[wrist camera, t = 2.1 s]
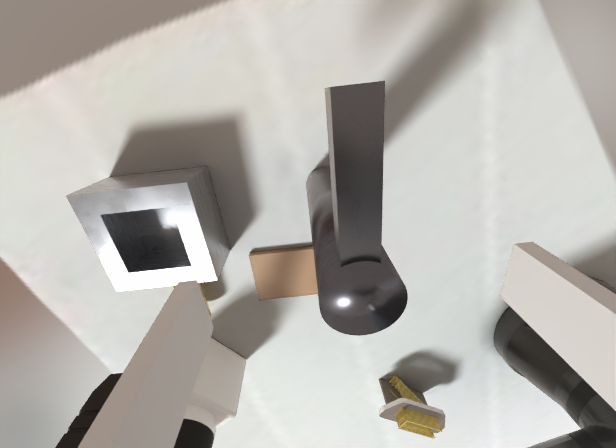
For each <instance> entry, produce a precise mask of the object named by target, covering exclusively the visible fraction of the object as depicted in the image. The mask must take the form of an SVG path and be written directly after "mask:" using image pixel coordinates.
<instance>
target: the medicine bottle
mask: <svg viewBox="0 0 616 448" xmlns="http://www.w3.org/2000/svg"><path fill="white" fill-rule="evenodd" d="M245 366H246V359H245V358H243V357H241V356H240V355H238V354H237V353H235V352H233V351H232V350H230V349H229V348H227V347H225V346H224V345H222V344H221V343H219V342H217V341H216V340H214V339H213V338H211V339H210V342H209V344H208V347H207V350H206V353H205V356H204V359H203V362H202V365H201V368H200V371H199V374H198V377H197V380H196V383H195V386H194V389H193V392H192V395H191V398H190V401H189V404H188V407H187V410H186V413H185V416H184V418H183V421H182V424H181V427H180V430H179V433H178V436H177V439H176V442H175V445H174V448H212V444H213V440H214V436H215V432H216V429H217V428H219V427H220V426H222V425H223V424H225V423H226V422H228V421H229V420H231V419H232V418H234V417H235V416H236V413H237V408H238V403H239V397H240V392H241V387H242V381H243V376H244V371H245Z"/></svg>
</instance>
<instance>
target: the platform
mask: <svg viewBox="0 0 616 448" xmlns="http://www.w3.org/2000/svg"><path fill="white" fill-rule="evenodd" d="M395 379H396V380H395ZM394 380H395V381H394ZM393 381H394V382H393ZM379 382H380V385H381V389H382V392H383V395H384V399H385V402H386V405H384V406H382V407H381V408H380V409H379V410H378V412H379V416H380V417H382V418H385V419H389V420H392V421H396V422H397V423H398V427H399V426H400V427H399V429H402V430H406V431H409V432H413V433H416V434H420V433H421V434H420V435H423V436H427V437H430V438H435V437H434V435H433V433H438V432H440V431H441V432H442V429H444V427H445V414H444V412H443V410H440V409H437V408H434V407H431V406H428V405H427V403H426V400H425V398H424V395H423V393H421V392H418V391H415V390H412V389H409V388H408V387H407V386H406V385H405V384H404V383H403V382H402V381H401V380H400V379H399V378H398V377H397V376H394V377H393V378H392V379H391V380H389V382H388V381H385V380H382V379H379ZM405 424H406V425H405ZM406 427H407V428H406ZM403 428H404V429H403ZM415 428H416V429H415ZM410 429H411V430H410ZM421 430H422V431H421ZM415 431H416V432H415Z"/></svg>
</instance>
